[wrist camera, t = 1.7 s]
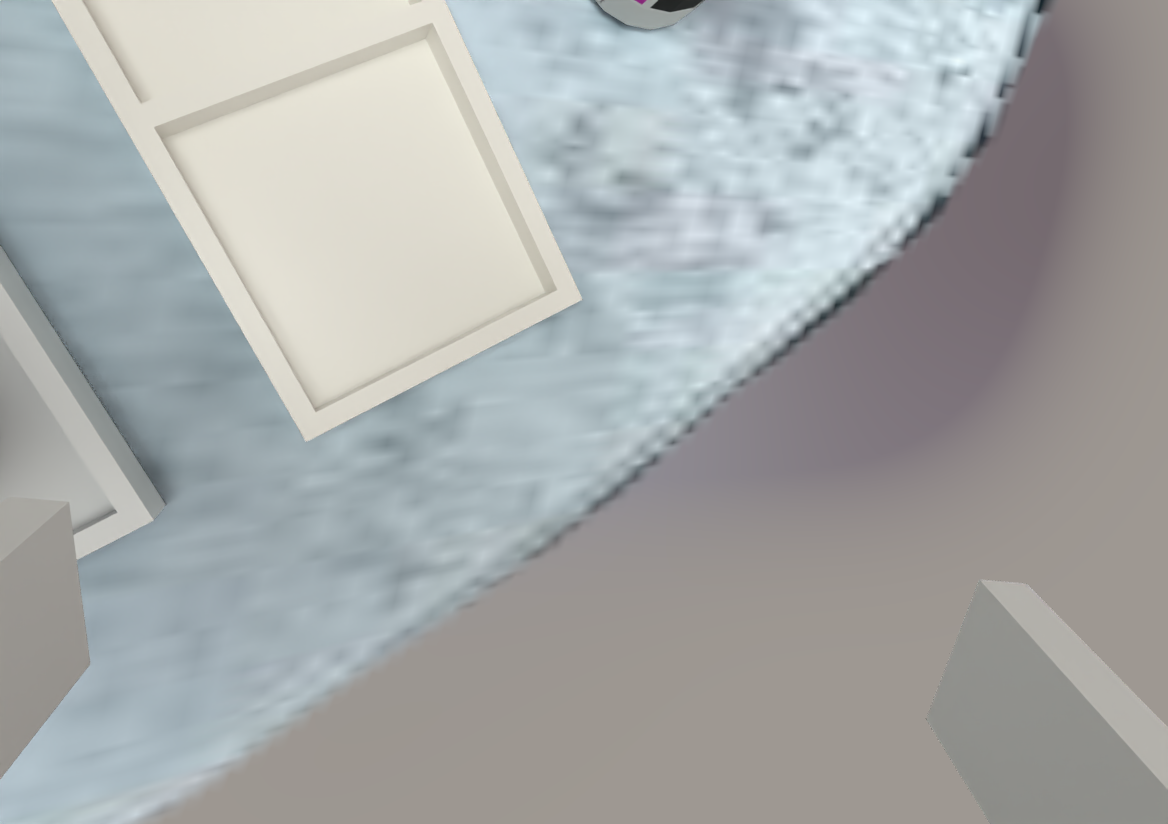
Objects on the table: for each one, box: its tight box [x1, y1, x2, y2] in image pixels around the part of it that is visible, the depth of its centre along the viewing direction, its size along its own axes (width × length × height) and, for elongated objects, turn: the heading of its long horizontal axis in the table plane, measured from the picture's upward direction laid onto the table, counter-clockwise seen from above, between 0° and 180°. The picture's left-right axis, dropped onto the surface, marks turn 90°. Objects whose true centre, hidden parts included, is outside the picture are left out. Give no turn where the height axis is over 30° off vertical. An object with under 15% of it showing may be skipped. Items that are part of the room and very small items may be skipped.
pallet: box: [52, 0, 583, 442], centre depth 36 cm, size 30×15×4 cm, turn 26°
